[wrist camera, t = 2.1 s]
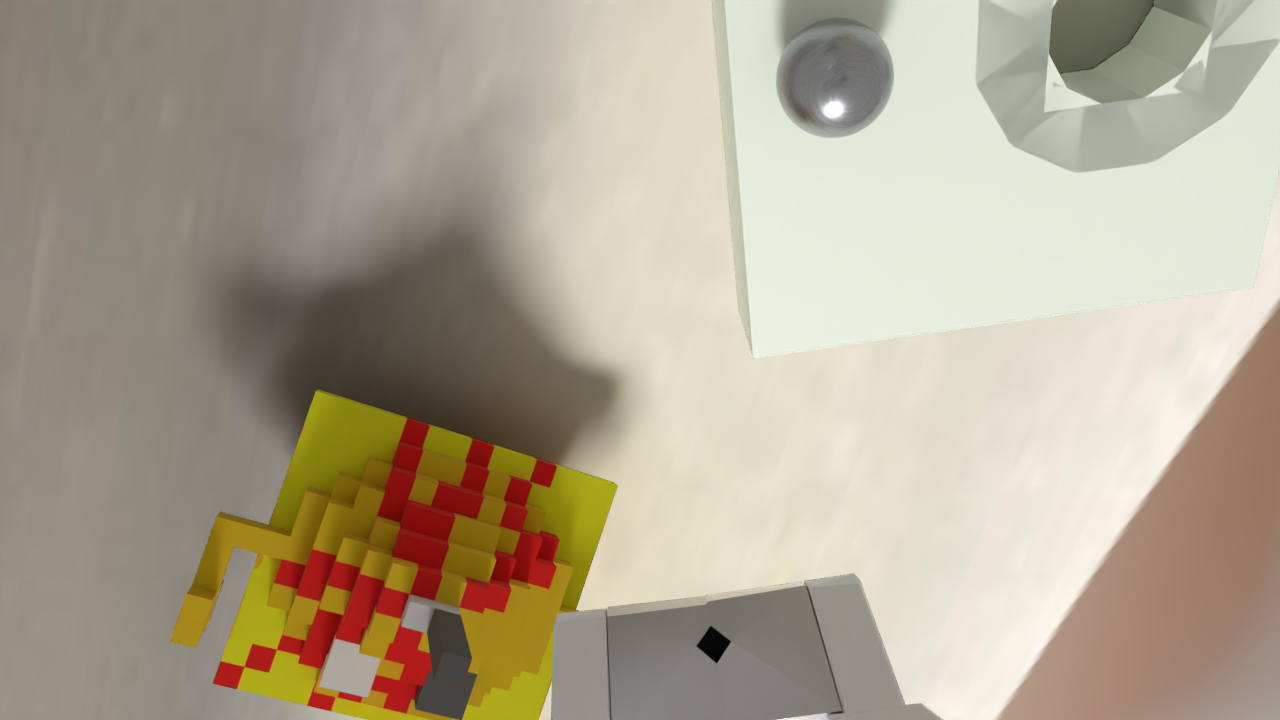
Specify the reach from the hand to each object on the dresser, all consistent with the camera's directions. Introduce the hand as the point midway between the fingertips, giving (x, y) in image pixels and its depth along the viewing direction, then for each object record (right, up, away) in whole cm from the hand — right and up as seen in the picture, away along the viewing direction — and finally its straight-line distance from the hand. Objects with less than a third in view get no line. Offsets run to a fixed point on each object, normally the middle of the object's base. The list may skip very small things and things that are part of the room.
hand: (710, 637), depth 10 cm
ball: (+4, +10, +16) cm, 19 cm away
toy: (-8, -2, +28) cm, 29 cm away
